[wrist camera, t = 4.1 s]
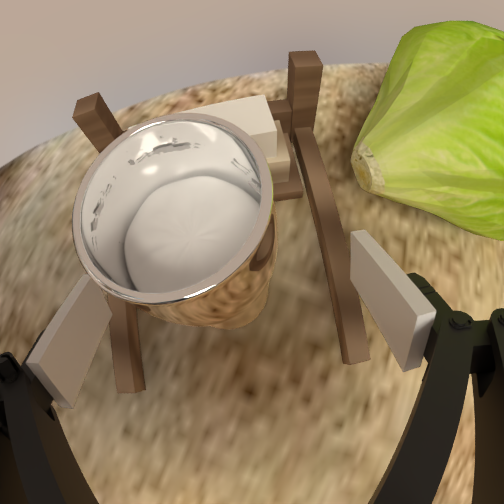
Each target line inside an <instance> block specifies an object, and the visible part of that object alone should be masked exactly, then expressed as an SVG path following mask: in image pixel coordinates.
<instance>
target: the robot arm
mask: <svg viewBox="0 0 504 504" xmlns="http://www.w3.org/2000/svg"><path fill="white" fill-rule="evenodd" d="M350 280H351V282H352V283H353V285H354V287H355V288H356V290H357V292H358V293H359V295H360V297H361V298H362V300H363V302H364V303H365V305H366V307H367V308H368V310H369V312H370V314H371V315H372V317H373V319H374V320H375V322H376V324H377V326H378V327H379V329H380V331H381V333H382V335H383V336H384V338H385V340H386V342H387V343H388V345H389V347H390V349H391V351H392V353H393V354H394V356H395V358H396V360H397V362H398V364H399V366H400V367H401V369H402V371H403V372H405V371H408V370H411V369H414V368H417V367H420V365H421V362H422V359H423V356H424V357H425V359H426V360H427V362H428V365H427V368H426V371H425V374H424V376H423V379H422V384H421V387H420V390H419V393H418V396H417V398H416V401H415V404H414V407H413V409H412V412H411V415H410V417H409V420H408V422H407V425H406V427H405V430H404V432H403V435H402V437H401V439H400V441H399V444H398V446H397V448H396V450H395V453H394V455H393V457H392V459H391V461H390V463H389V465H388V467H387V469H386V471H385V473H384V475H383V477H382V479H381V481H380V483H379V485H378V487H377V489H376V490H375V492H374V494H373V496H372V498H371V499H370V501H369V503H368V504H432V501H433V499H434V497H435V494H436V492H437V489H438V487H439V484H440V482H441V479H442V476H443V474H444V471H445V468H446V465H447V462H448V459H449V456H450V453H451V450H452V447H453V443H454V440H455V436H456V433H457V429H458V425H459V421H460V417H461V413H462V409H463V404H464V400H465V395H466V390H467V384H468V379H469V374H471V375H472V385H473V396H474V411H475V471H474V486H473V496H472V504H504V309H503V308H500V309H496V310H494V311H493V312H492V314H491V317H490V320H481V321H474V320H473V319H472V317H471V316H469V315H468V314H467V313H464V312H461V311H453V310H452V309H451V308H450V307H449V305H448V304H447V303H446V302H445V301H444V300H443V299H442V297H441V296H440V295H439V294H438V293H437V292H436V291H435V289H434V288H433V287H432V286H430V284H429V283H428V282H427V281H426V280H425V278H423V277H421V276H420V275H418V274H416V273H410V274H405V273H404V271H403V270H402V269H401V268H400V267H399V266H398V265H397V264H396V262H395V261H394V260H393V259H392V258H391V257H390V256H389V255H388V254H387V252H386V251H385V250H384V249H383V248H382V247H381V246H380V245H379V244H378V243H377V242H376V241H375V240H374V238H373V237H372V236H371V235H370V234H369V233H368V232H367V231H366V230H365V229H364V230H358V231H351V265H350ZM112 315H113V314H112V312H111V310H110V308H109V306H108V303H107V301H106V299H105V297H104V295H103V292H102V290H101V288H100V286H99V285H98V284H96V283H95V282H94V281H93V280H92V278H91V277H90V276H89V275H88V274H83V275H82V276H81V278H80V279H79V281H78V282H77V283H76V285H75V286H74V288H73V289H72V290H71V292H70V293H69V295H68V296H67V298H66V299H65V301H64V302H63V304H62V305H61V307H60V308H59V310H58V311H57V313H56V314H55V316H54V317H53V319H52V320H51V322H50V323H49V325H48V326H47V328H46V329H45V330H43V331H42V332H41V333H40V335H39V337H38V338H37V340H36V342H35V343H34V345H33V346H32V348H31V350H30V351H29V353H28V355H27V356H26V358H25V360H24V362H23V363H22V365H21V366H20V365H19V363H18V362H17V360H16V359H15V358H14V356H13V355H12V353H10V352H5V353H3V354H1V355H0V504H99V503H98V501H97V500H96V498H95V496H94V494H93V493H92V491H91V489H90V487H89V485H88V484H87V482H86V480H85V478H84V476H83V474H82V472H81V470H80V468H79V466H78V464H77V462H76V460H75V457H74V455H73V453H72V451H71V449H70V446H69V444H68V442H67V439H66V437H65V435H64V432H63V430H62V427H61V425H60V422H59V419H58V417H57V414H56V411H55V409H54V408H53V406H52V405H51V403H52V400H53V399H54V400H55V401H56V403H57V404H58V405H59V406H60V407H63V408H73V409H74V406H75V403H76V400H77V398H78V395H79V392H80V390H81V387H82V385H83V382H84V380H85V377H86V375H87V372H88V370H89V367H90V365H91V362H92V360H93V358H94V355H95V353H96V350H97V348H98V346H99V344H100V341H101V339H102V337H103V334H104V332H105V330H106V328H107V326H108V323H109V321H110V319H111V317H112Z"/></svg>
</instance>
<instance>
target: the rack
mask: <svg viewBox="0 0 504 504" xmlns="http://www.w3.org/2000/svg"><path fill="white" fill-rule="evenodd" d="M288 62H289V63H288V88H287V99H285V100H276V101H267V103H268V106H269V109H270V112H271V115H272V117H273V120H274V121H276V120H279V121H280V124H281V128H282V131H283V135H284V139H285V142H286V146H287V149H288V153H289V157H290V171H289V181H288V182H281V183H274V184H273V197H274V202H275V201H281V200H288V199H295V198H302V195H303V187H302V183H301V179H300V175H299V172H298V168H297V164H296V161H295V157H294V153H293V150H292V146H291V142H293V144H294V147H295V151H296V154H297V158H298V161H299V165H300V169H301V172H302V176H303V180H304V183H305V187H306V191H307V195H308V199H309V202H310V206H311V210H312V214H313V218H314V222H315V227H316V231H317V235H318V239H319V244H320V248H321V252H322V257H323V261H324V266H325V270H326V275H327V280H328V284H329V289H330V294H331V299H332V304H333V309H334V314H335V320H336V325H337V330H338V336H339V342H340V347H341V353H342V359H343V364H348V365H352V364H356V363H360V362H364V361H367V360H370V354H369V348H368V342H367V336H366V331H365V326H364V320H363V315H362V310H361V305H360V301H359V296H358V292H357V290H356V288H355V287H354V285H353V283H352V282H351V280H350V265H351V261H350V256H349V252H348V248H347V244H346V240H345V237H344V233H343V229H342V225H341V222H340V218H339V214H338V211H337V207H336V204H335V200H334V197H333V193H332V190H331V187H330V183H329V180H328V177H327V173H326V170H325V167H324V164H323V161H322V158H321V155H320V152H319V149H318V146H317V143H316V140H315V137H314V134H313V128H314V122H315V116H316V110H317V104H318V97H319V91H320V84H321V77H322V70H323V64H322V62H321V61H320V59H319V57H318V55H317V53H316V51H295V52H289V61H288ZM72 118H73V119H74V121H75V122H76V123H77V125H78V126H79V127H80V129H81V130H82V131H83V132H84V134H85V135H86V136H87V138H88V139H89V140H90V142H91V143H92V144H93V145H94V147H95V148H96V149H97V151H98V152H99V153H101V152H102V151H103V150H104V149H105V148H106V147H107V146H108V145H109V144H110V143H111V142H113V141H114V140H115V139H116V138H117V137H119V136H120V135H122V134H123V133H125V132H126V131H128V130H126V131H122V129H121V128H120V126H119V125H118V123H117V121H116V120H115V118H114V116H113V115H112V113H111V112H110V110H109V108H108V107H107V105H106V103H105V102H104V100H103V98H102V97H101V95H100V93H99V92H98V93H95V94H92V95H90V96H87V97H84V98H82V99H80V100H77V103H76V107H75V110H74V114H73V117H72ZM108 306H109V308H110V310H111V312H112V314H113V315H112V317H111V319H110V321H109V325H110V337H111V347H112V356H113V365H114V373H115V380H116V387H117V393H137V392H140V391H143V390H146V388H145V382H144V375H143V368H142V360H141V352H140V343H139V334H138V323H137V312H136V307H134V306H133V305H131V304H129V303H128V302H126V301H124V300H122V299H119V298H117V297H115V296H113V295H111V294H109V293H108Z"/></svg>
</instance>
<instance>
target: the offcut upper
mask: <svg viewBox="0 0 504 504" xmlns="http://www.w3.org/2000/svg"><path fill="white" fill-rule="evenodd" d="M179 113H200V114H207V115H211V116H215V117H218V118H221V119H224V120H226V121H228V122H231V123H232V124H234V125H236V126H238V127H239V128H241V129H242V130H243V131H245V132H246V133H247V134H248V135H249V136H250V137H251V138H252V139H253V140H254V141H255V142H256V143H257V145H258V146H259V147H260V149H261V151H262V152H263V154H264V156H265V158H266V159H268V158H273V157H277V129H276V126H275V123H274V120H273V117H272V115H271V112H270V109H269V106H268V103H267V101H266V98H265V95H258V96H252V97H246V98H241V99H236V100H230V101H226V102H221V103H216V104H211V105H207V106H203V107H198V108H194V109H190V110H186V111H182V112H179ZM175 114H176V113H175ZM140 124H141V123H140ZM137 125H139V124H137ZM137 125H134V126H131V127H128V130H129V129H131V128H133V127H135V126H137Z"/></svg>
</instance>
